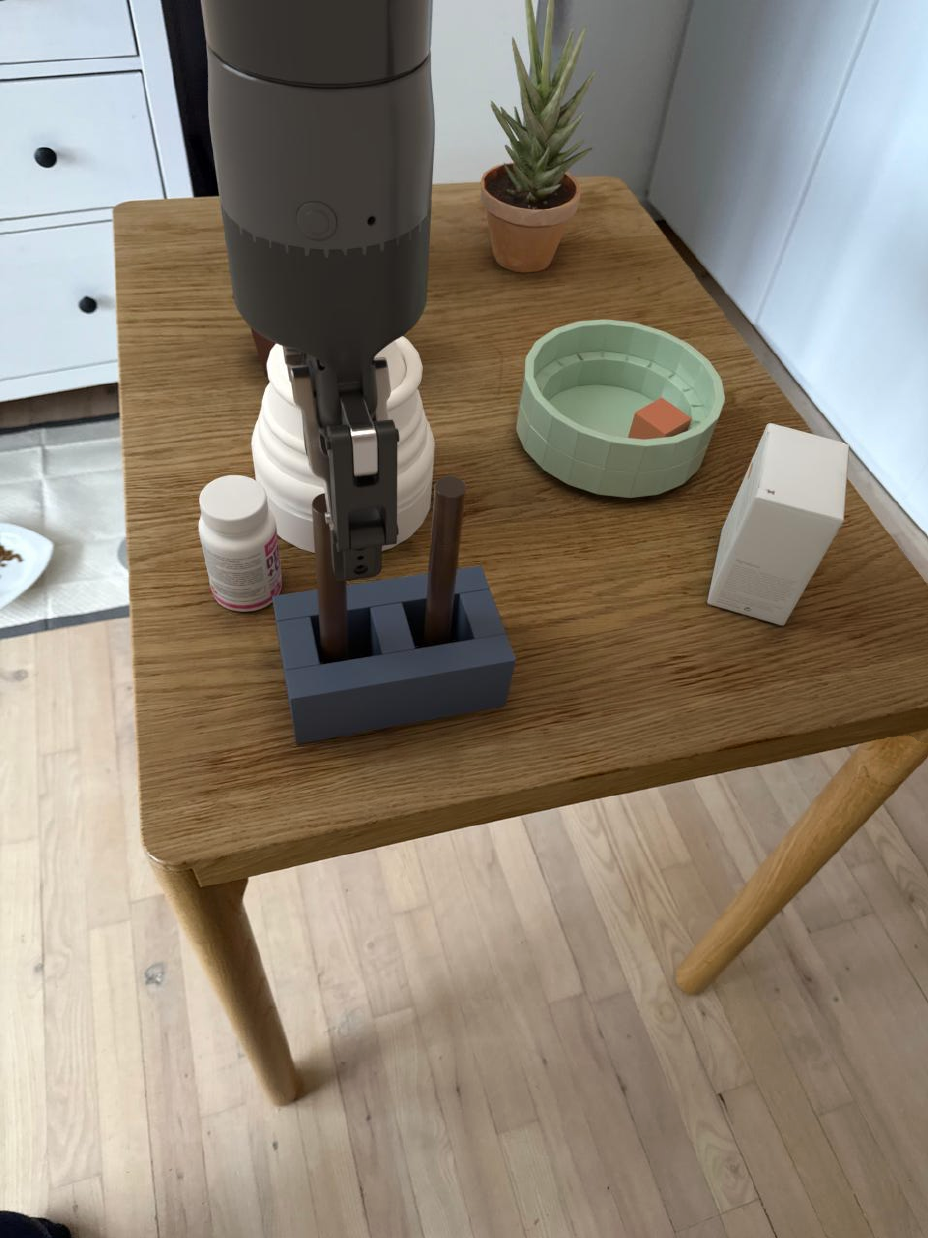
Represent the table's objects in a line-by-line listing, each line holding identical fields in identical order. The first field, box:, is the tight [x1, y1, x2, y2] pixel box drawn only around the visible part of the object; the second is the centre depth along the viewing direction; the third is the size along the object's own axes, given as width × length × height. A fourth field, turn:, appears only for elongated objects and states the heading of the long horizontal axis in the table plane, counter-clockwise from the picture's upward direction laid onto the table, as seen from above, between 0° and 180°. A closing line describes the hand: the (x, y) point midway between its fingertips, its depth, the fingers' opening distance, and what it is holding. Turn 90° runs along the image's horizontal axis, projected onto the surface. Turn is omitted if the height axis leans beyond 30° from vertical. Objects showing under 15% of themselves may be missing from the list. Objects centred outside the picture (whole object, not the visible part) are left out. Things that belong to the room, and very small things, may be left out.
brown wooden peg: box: [422, 475, 467, 648], centre depth 51 cm, size 2×2×16 cm
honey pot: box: [250, 335, 436, 554], centre depth 60 cm, size 13×13×18 cm
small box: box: [706, 422, 851, 626], centre depth 61 cm, size 8×6×10 cm
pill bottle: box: [198, 474, 283, 613], centre depth 57 cm, size 5×5×8 cm
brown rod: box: [312, 493, 349, 665], centre depth 50 cm, size 2×2×16 cm
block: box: [628, 397, 692, 440], centre depth 70 cm, size 3×3×3 cm
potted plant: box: [480, 0, 597, 274], centre depth 80 cm, size 10×10×25 cm
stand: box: [272, 565, 517, 745], centre depth 55 cm, size 8×13×5 cm, turn 105°
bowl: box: [515, 318, 726, 499], centre depth 71 cm, size 15×15×6 cm
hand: (341, 510), depth 44 cm, fingers open, 8 cm apart
